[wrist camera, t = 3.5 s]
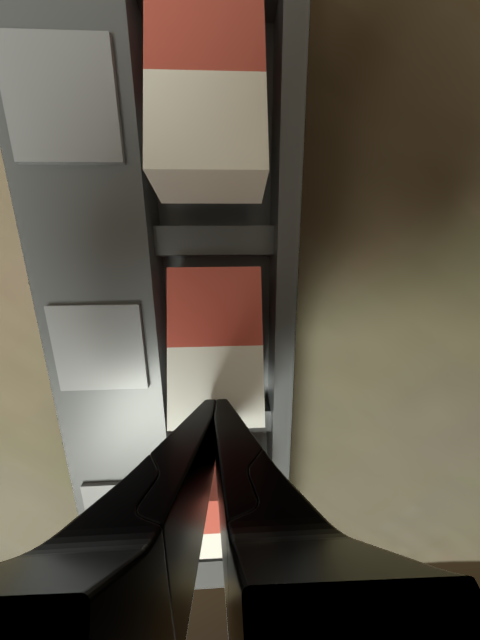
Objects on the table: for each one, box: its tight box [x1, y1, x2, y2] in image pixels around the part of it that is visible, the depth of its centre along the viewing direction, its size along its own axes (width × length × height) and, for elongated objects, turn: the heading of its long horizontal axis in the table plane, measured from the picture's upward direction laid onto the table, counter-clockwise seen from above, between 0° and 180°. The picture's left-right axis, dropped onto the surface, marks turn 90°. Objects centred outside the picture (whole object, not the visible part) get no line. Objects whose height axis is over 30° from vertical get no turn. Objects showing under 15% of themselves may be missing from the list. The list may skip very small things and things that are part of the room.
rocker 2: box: [167, 266, 265, 431], centre depth 10 cm, size 4×6×2 cm, turn 0°
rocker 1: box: [143, 0, 269, 204], centre depth 8 cm, size 4×6×2 cm, turn 1°
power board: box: [0, 0, 310, 589], centre depth 12 cm, size 11×30×4 cm, turn 1°
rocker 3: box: [199, 463, 222, 559], centre depth 12 cm, size 4×6×2 cm, turn 1°
